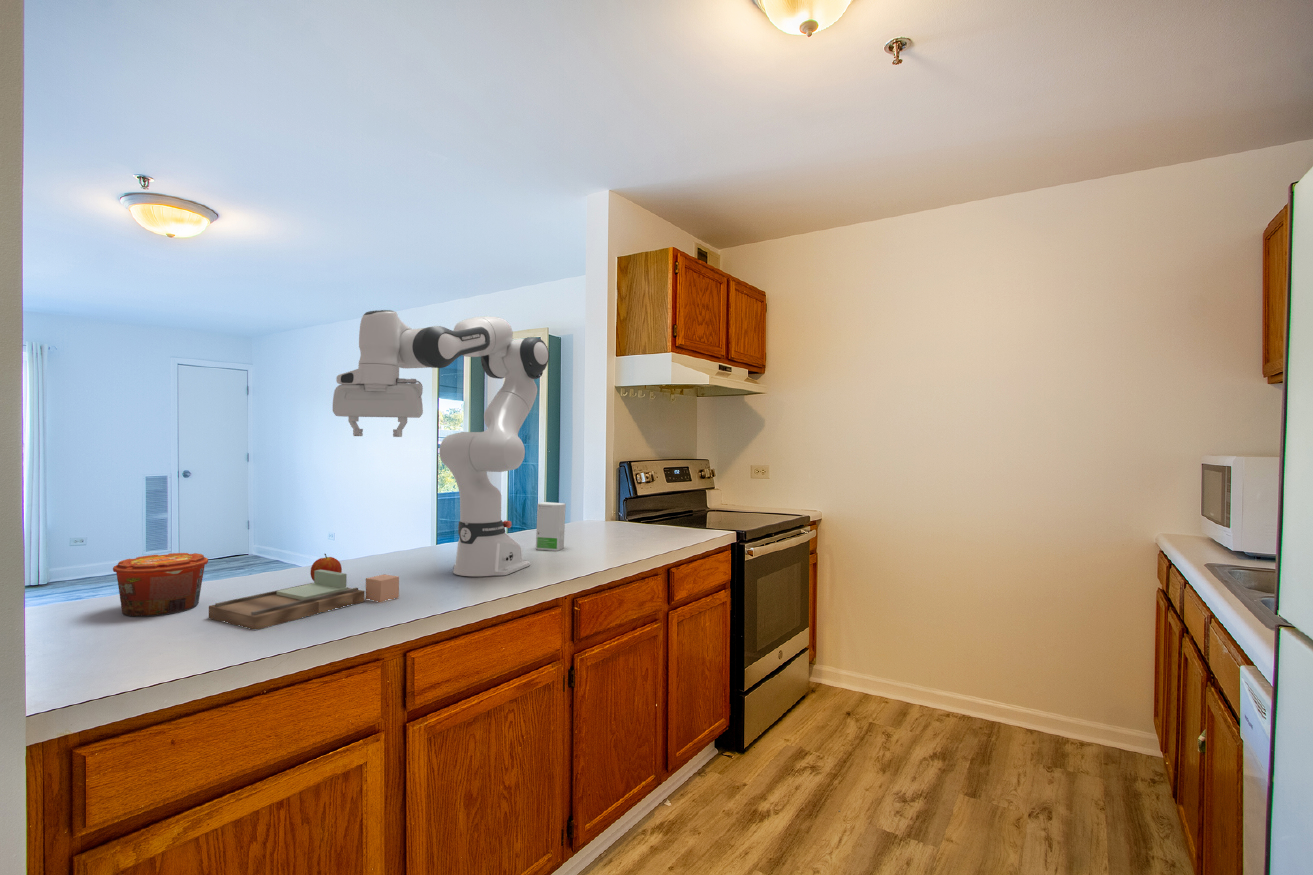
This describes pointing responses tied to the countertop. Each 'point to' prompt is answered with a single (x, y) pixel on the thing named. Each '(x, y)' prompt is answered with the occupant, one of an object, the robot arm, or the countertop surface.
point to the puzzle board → (279, 607)
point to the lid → (318, 586)
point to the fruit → (326, 565)
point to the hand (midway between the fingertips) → (377, 436)
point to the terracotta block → (382, 587)
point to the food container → (160, 583)
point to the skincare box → (550, 526)
